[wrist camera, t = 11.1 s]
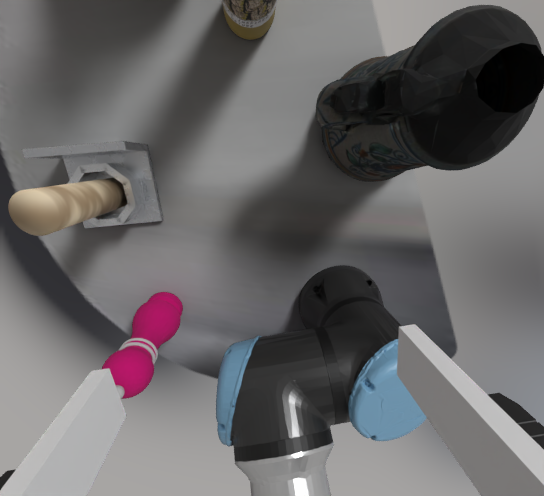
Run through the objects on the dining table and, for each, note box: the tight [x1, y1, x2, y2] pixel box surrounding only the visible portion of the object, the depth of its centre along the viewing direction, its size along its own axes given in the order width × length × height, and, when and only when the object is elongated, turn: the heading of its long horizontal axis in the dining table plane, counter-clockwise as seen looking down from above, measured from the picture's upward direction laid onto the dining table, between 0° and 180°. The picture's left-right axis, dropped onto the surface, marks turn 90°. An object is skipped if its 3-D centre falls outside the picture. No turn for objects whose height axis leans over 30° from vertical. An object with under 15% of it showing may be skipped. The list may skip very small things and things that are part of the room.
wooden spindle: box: [9, 178, 128, 236], centre depth 33 cm, size 4×4×16 cm
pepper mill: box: [102, 292, 183, 399], centre depth 39 cm, size 7×7×20 cm
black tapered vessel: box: [316, 5, 544, 181], centre depth 30 cm, size 16×19×25 cm
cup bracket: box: [22, 141, 164, 228], centre depth 38 cm, size 12×12×8 cm
